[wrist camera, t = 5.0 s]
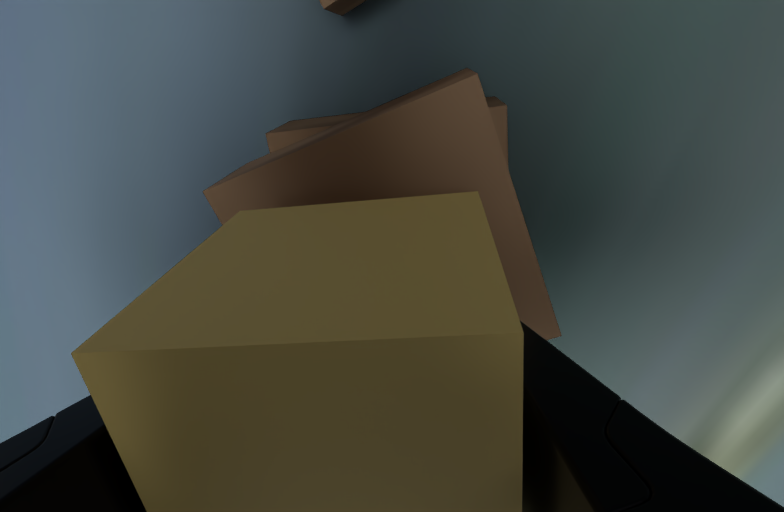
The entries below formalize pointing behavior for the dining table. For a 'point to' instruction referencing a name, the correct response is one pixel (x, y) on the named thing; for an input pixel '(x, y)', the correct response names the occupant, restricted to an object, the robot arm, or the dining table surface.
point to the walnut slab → (340, 5)
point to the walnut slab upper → (405, 174)
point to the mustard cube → (322, 365)
